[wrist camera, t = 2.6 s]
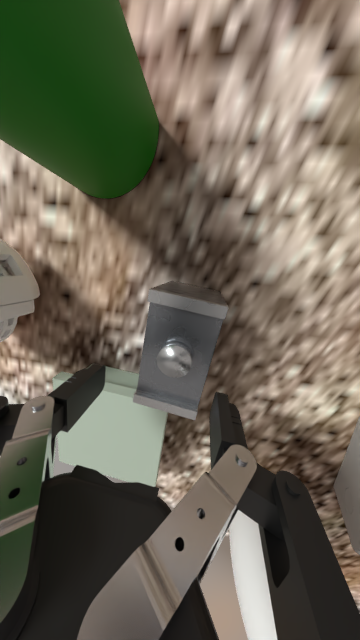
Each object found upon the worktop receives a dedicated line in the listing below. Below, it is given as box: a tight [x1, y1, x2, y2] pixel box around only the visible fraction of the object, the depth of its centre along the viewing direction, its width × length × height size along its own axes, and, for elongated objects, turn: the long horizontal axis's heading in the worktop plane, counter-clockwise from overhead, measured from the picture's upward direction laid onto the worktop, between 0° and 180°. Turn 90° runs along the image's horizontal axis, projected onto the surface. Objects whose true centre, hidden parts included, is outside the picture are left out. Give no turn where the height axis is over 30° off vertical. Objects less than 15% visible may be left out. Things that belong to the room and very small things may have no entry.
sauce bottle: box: [230, 510, 277, 640], centre depth 16 cm, size 8×8×18 cm
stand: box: [52, 363, 168, 487], centre depth 21 cm, size 12×12×5 cm
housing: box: [133, 281, 228, 420], centre depth 16 cm, size 5×9×8 cm, turn 168°
